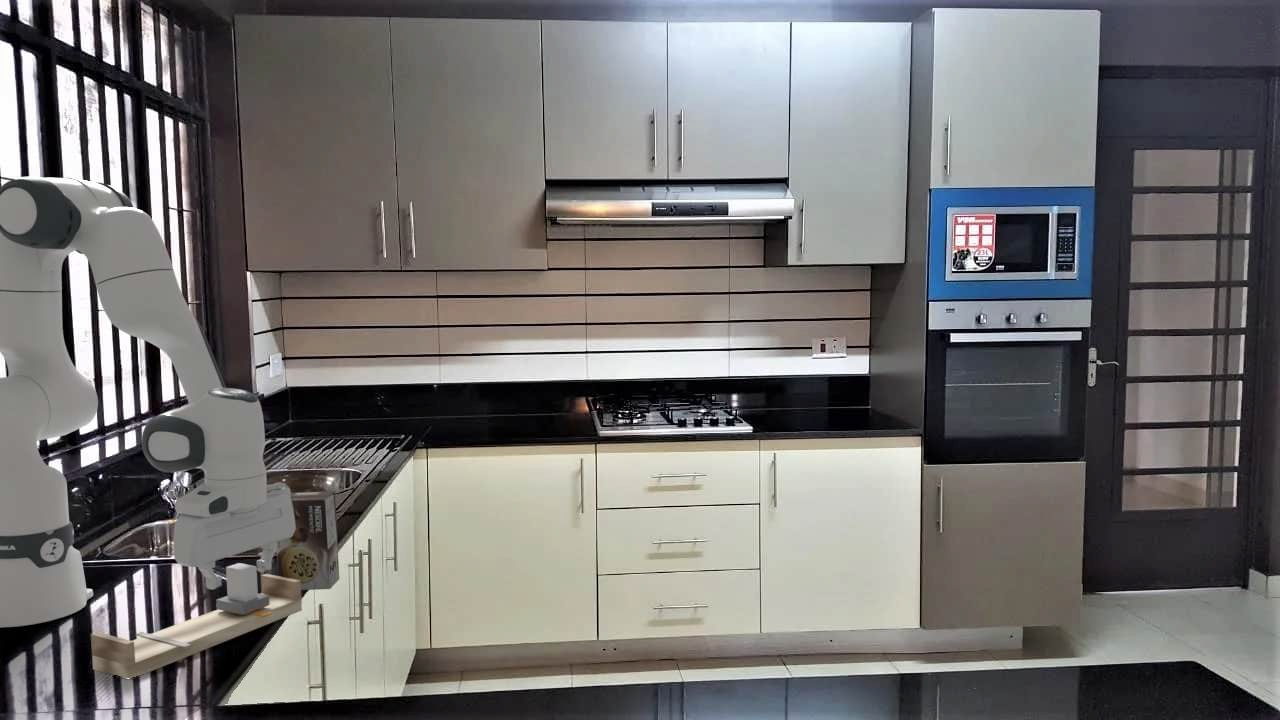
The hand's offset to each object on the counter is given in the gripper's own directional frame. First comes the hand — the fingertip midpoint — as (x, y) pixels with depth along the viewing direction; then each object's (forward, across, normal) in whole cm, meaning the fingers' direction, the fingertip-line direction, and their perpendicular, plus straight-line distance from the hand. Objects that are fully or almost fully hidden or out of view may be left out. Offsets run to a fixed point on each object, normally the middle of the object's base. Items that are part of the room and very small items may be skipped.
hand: (239, 579), depth 151 cm
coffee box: (+7, -18, -4) cm, 20 cm away
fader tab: (+4, 0, 0) cm, 5 cm away
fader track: (+7, +7, 0) cm, 10 cm away
